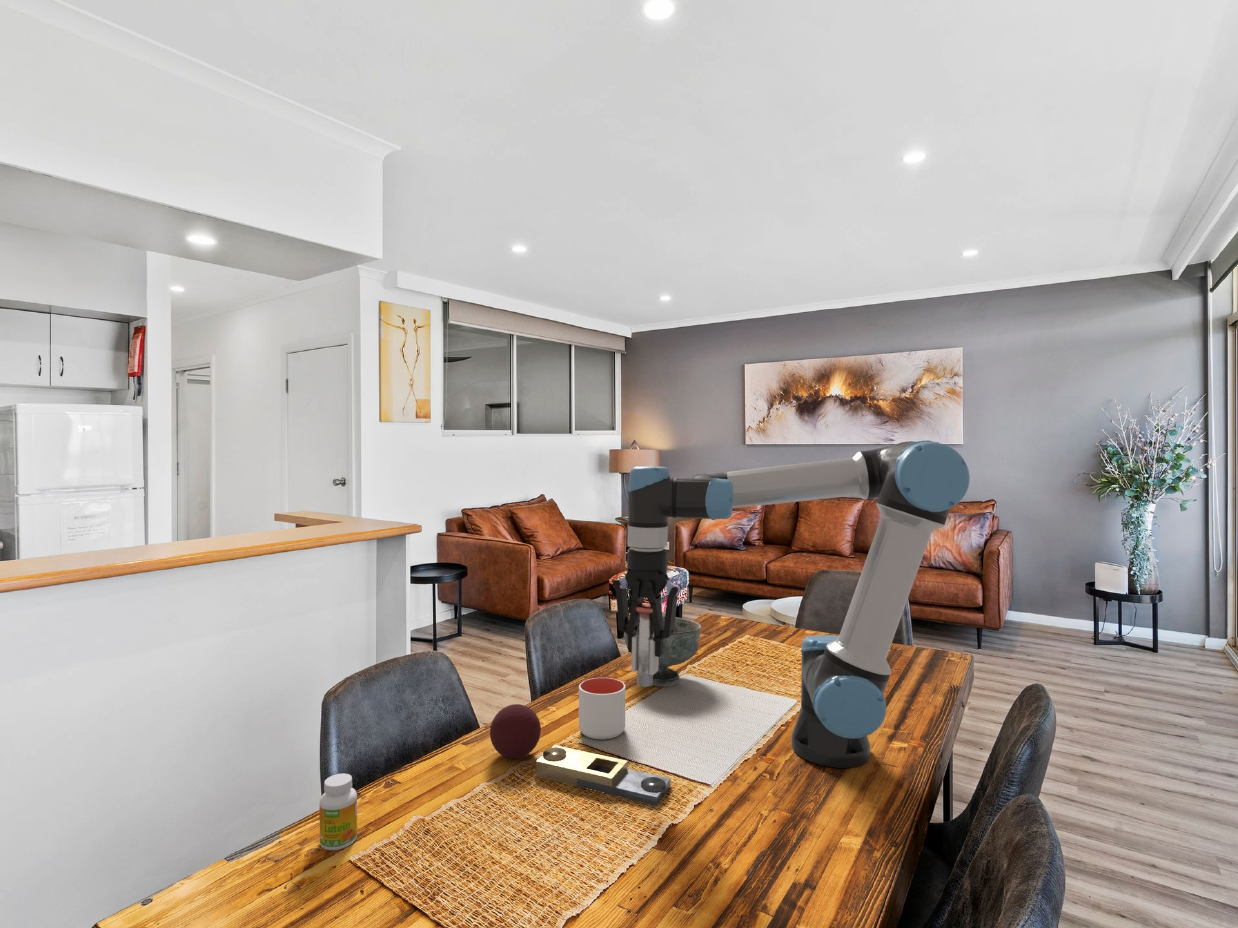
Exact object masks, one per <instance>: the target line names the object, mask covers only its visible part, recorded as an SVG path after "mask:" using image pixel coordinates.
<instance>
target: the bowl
mask: <svg viewBox="0 0 1238 928" xmlns="http://www.w3.org/2000/svg"><path fill="white" fill-rule="evenodd" d="M662 617H663V625H664V622H665V615H662ZM701 628H702V626H701V624H700V623H698V622H696V621H693V620H691V619H685V618H681V617H677V616H675V624H674V633H673V634H672V635H671V636H670V637H669V638H664V642H663V654H662V655H661V656H660V657H659V664H658V671H657V672H656V673H655V674H654V675H653V685H652V686H657V687H672V686H675V685H677V684H678V683H679V681H680V675H679V673H678V672H677V671H675V670H674V669H671V668H669V667H672V666H677V665H681V664H683V663H685V662H687V661H689V660H691V659H692V658H693V657H694V656H695V655H696V654H697V653H698V651H699V646H700V645H699V643H700V636H701V630H702V629H701ZM623 633H624V634H623V639H624V642H625V646H626V648H627V649H628V635H627V634H626V633H625V632H623ZM637 634H638V632H637ZM629 653H630V654H631V655H632V652H629Z"/></svg>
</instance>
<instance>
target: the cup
mask: <svg viewBox="0 0 1238 928" xmlns="http://www.w3.org/2000/svg"><path fill="white" fill-rule="evenodd" d="M578 729H579V731H580V733H582V735H584V736H585V737H587V738H589V739H593V740H601V739H602V740H610V739H615V738H616V737H619V736H620V735H621V734H622V733H623V732H624V730H625V729H626V684H625V683H624V682H623V681H622V680H619V679H616V678H611V677H593V678H589V679H586V680H584V681H582V682H581V683H579V686H578Z"/></svg>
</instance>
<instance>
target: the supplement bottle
mask: <svg viewBox="0 0 1238 928" xmlns="http://www.w3.org/2000/svg"><path fill="white" fill-rule="evenodd" d="M323 790H324V793H322V795H321V796H320V799H319V843H320V846H321V848H322V849H324V850H328V851H338V850H342V849H345V848H347V847H349V846H351V845H352V844H353V843H354V842H355V841H356V839H357V838H358V794H357V791H356V789H355V788H354V787H353V777H352V775H351V774H349V773H337V774H333V775H331V776H328V777H327V778H326V779H325V780H324V783H323Z"/></svg>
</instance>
